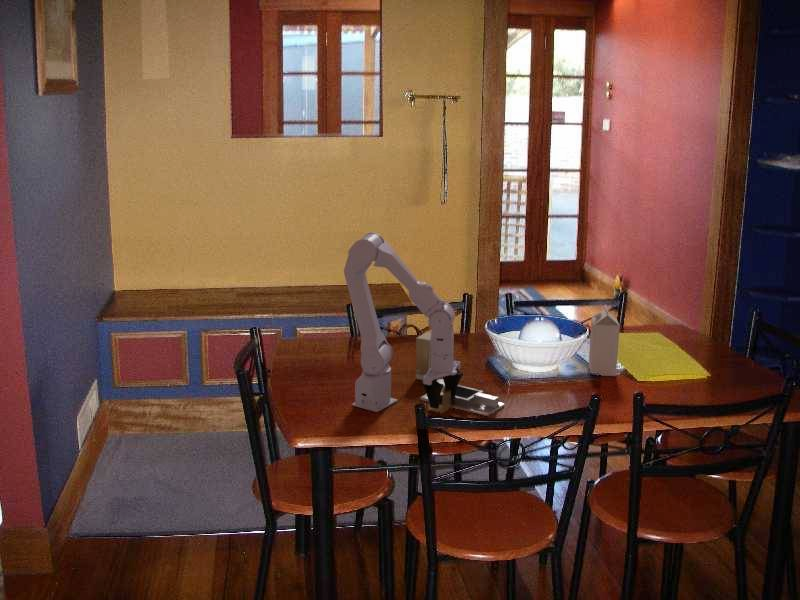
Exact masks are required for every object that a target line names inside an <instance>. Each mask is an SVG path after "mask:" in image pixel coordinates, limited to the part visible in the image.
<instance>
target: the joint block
mask: <svg viewBox="0 0 800 600" xmlns="http://www.w3.org/2000/svg"><path fill="white" fill-rule="evenodd" d="M450 407H451V391H450V390H446V389H442V390H441V394H440V403H439V408H438V409H435V408H431V407H430V404H429V403H428V411H430V410H431V412H434V413H438V412H440V413H439V414H443V413H442V412H444V413H445V411H446V410H447V411H449V410H450V409H451V408H450ZM449 408H450V409H449ZM448 409H449V410H448ZM447 411H446V412H447Z"/></svg>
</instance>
